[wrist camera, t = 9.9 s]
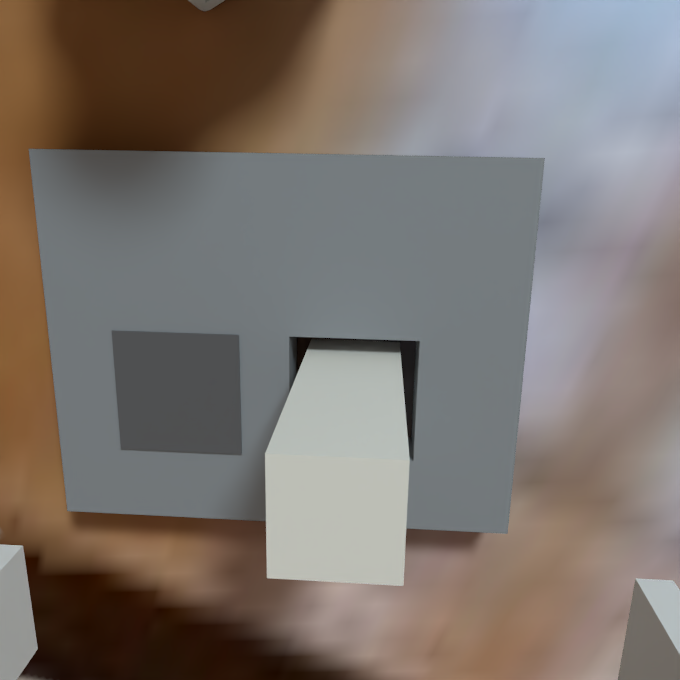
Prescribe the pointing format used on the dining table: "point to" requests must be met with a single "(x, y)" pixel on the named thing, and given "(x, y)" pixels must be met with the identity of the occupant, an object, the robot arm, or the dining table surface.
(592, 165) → the dining table surface
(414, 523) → the outlet plate
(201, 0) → the container
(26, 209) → the dining table surface
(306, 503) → the light grey rectangular block
